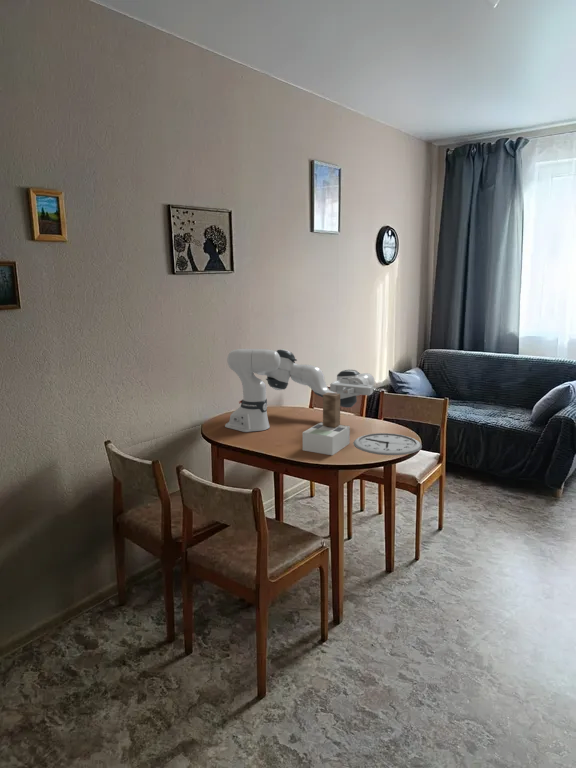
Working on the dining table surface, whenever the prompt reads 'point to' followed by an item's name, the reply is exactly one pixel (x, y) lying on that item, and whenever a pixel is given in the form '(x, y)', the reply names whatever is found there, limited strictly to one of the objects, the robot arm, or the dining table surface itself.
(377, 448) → the wall clock
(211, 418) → the dining table surface
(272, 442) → the dining table surface
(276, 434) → the dining table surface
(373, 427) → the dining table surface
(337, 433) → the box
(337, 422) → the walnut post
